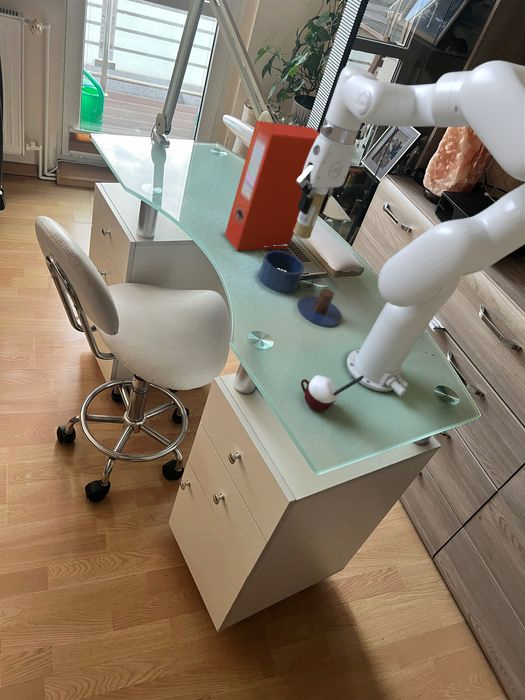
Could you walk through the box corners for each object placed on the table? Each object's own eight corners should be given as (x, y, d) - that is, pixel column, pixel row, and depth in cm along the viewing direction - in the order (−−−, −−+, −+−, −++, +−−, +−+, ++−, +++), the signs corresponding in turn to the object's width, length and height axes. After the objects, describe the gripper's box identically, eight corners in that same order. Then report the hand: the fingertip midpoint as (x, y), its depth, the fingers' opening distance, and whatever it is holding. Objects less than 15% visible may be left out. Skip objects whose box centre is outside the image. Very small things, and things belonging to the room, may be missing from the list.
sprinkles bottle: (313, 238, 122) (333, 187, 113) (299, 240, 119) (318, 187, 111) (302, 229, 124) (321, 177, 116) (288, 229, 122) (306, 177, 113)
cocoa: (292, 391, 101) (312, 349, 94) (315, 385, 105) (336, 343, 97) (319, 427, 96) (343, 384, 89) (342, 418, 100) (367, 377, 92)
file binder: (288, 249, 145) (328, 140, 125) (237, 251, 136) (272, 134, 116) (274, 234, 150) (311, 126, 130) (224, 235, 141) (255, 119, 121)
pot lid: (348, 324, 126) (359, 303, 122) (315, 332, 119) (326, 311, 115) (320, 296, 131) (329, 276, 127) (287, 303, 125) (296, 281, 121)
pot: (303, 291, 131) (312, 271, 127) (273, 297, 125) (280, 276, 121) (280, 268, 136) (288, 248, 132) (250, 273, 130) (257, 252, 126)
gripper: (321, 139, 100) (293, 221, 111) (376, 141, 110) (344, 216, 121) (298, 123, 103) (273, 204, 115) (353, 127, 113) (325, 201, 125)
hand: (310, 210), depth 118 cm, fingers closed on sprinkles bottle, 4 cm apart
